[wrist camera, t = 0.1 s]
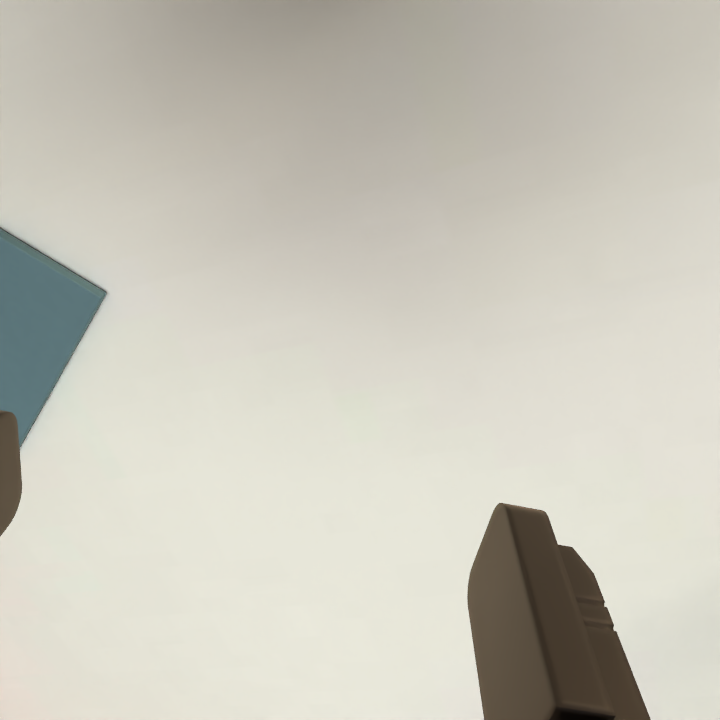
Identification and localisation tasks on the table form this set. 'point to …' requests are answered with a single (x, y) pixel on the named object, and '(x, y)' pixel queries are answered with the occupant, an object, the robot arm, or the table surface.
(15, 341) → the drying mat
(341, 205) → the table surface
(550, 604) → the robot arm
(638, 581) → the table surface
